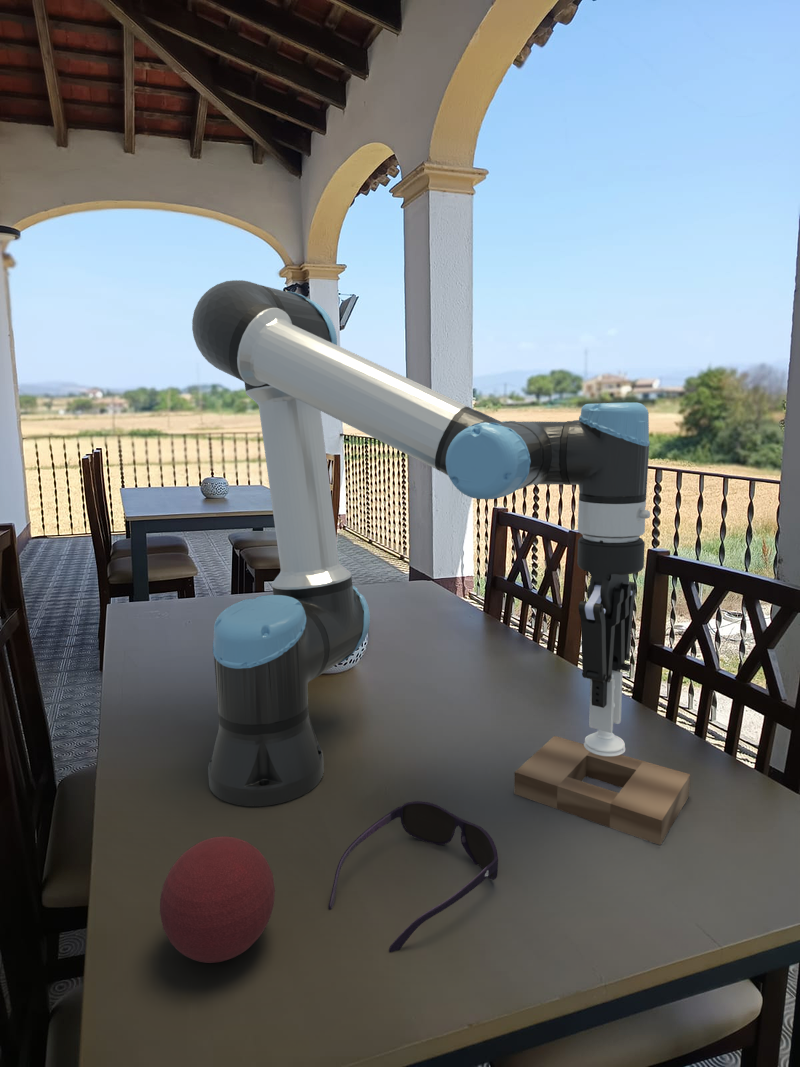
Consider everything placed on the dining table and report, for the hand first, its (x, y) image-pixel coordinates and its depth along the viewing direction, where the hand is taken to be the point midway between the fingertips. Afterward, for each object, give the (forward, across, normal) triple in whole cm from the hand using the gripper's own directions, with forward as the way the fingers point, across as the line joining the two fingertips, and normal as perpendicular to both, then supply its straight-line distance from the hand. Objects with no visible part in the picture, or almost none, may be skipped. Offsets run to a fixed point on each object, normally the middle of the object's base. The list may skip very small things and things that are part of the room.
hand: (605, 724), depth 84 cm
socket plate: (+10, 0, 0) cm, 10 cm away
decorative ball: (+10, -44, +19) cm, 49 cm away
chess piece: (+3, 0, 0) cm, 3 cm away
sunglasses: (+10, -28, +9) cm, 31 cm away
